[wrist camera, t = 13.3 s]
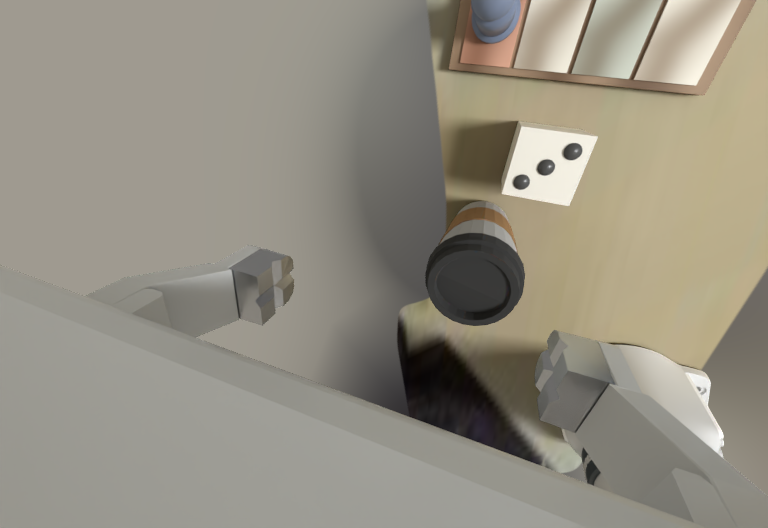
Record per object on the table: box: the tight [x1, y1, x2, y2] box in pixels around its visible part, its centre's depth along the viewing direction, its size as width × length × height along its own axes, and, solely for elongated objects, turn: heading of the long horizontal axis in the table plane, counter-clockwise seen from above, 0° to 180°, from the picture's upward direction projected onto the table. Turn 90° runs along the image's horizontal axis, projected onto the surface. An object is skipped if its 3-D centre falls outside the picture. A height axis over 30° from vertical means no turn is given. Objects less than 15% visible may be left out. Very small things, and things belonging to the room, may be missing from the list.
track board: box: [449, 0, 756, 95], centre depth 27 cm, size 22×8×1 cm, turn 86°
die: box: [501, 121, 598, 206], centre depth 30 cm, size 6×6×6 cm
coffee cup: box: [426, 201, 525, 326], centre depth 32 cm, size 8×8×15 cm
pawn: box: [471, 0, 521, 44], centre depth 24 cm, size 4×4×9 cm
